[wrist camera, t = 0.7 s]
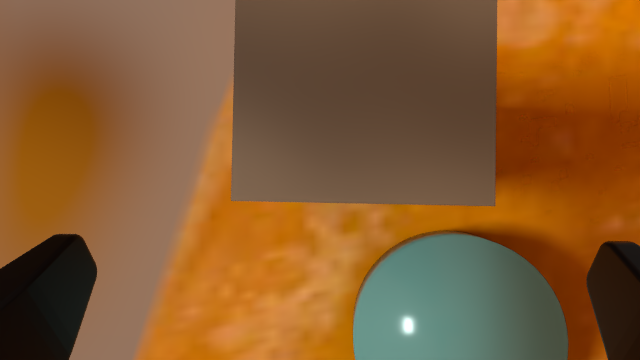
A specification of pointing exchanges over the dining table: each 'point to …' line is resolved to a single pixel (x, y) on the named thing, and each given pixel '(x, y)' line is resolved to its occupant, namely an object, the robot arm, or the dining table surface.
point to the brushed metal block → (365, 101)
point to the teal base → (456, 304)
